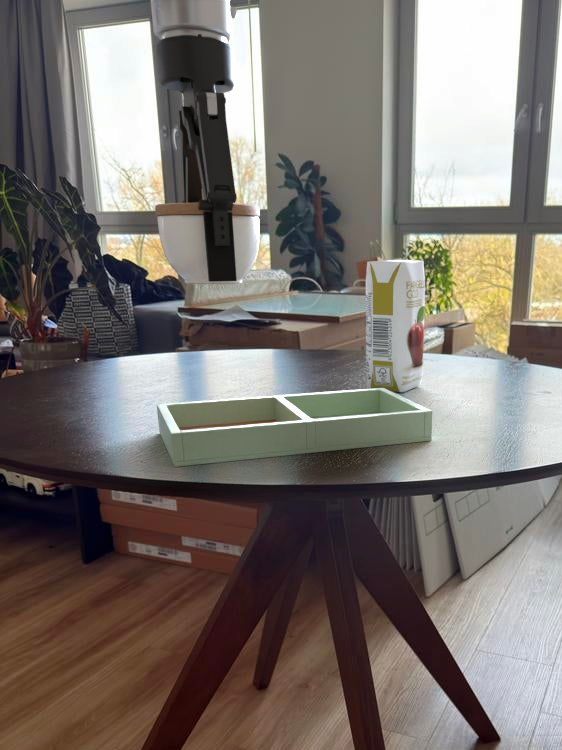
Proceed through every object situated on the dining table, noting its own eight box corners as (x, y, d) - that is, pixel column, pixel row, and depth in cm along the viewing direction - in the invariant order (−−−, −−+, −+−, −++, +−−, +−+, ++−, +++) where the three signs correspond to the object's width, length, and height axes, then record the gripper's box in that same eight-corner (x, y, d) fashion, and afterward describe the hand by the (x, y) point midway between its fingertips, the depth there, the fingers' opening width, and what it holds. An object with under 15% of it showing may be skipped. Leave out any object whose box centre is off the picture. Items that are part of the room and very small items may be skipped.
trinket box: (280, 281, 82) (276, 191, 78) (231, 286, 72) (224, 184, 69) (199, 279, 85) (191, 193, 82) (141, 284, 76) (130, 186, 72)
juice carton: (360, 390, 112) (359, 260, 105) (385, 381, 119) (385, 259, 112) (404, 394, 109) (406, 261, 102) (427, 385, 116) (430, 260, 109)
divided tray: (174, 467, 74) (171, 433, 72) (159, 432, 87) (156, 404, 85) (431, 440, 84) (432, 411, 82) (383, 413, 97) (383, 387, 96)
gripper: (259, 14, 62) (272, 283, 70) (213, 70, 82) (227, 273, 90) (169, 4, 59) (193, 284, 67) (144, 64, 79) (165, 274, 87)
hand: (213, 278), depth 78 cm, fingers closed on trinket box, 11 cm apart
